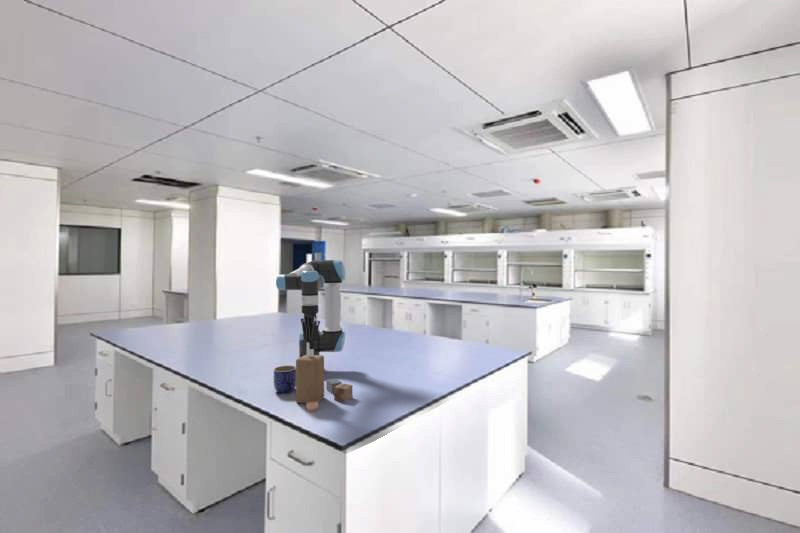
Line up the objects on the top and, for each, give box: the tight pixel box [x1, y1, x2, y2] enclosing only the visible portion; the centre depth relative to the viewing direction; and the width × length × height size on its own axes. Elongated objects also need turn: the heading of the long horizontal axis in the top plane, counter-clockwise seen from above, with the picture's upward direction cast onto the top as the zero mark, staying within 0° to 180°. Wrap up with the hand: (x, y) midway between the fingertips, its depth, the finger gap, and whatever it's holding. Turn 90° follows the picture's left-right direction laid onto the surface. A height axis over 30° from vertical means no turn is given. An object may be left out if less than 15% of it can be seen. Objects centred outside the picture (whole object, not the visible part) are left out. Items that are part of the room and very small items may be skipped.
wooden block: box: [295, 354, 325, 405], centre depth 171 cm, size 10×10×20 cm
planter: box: [273, 365, 296, 394], centre depth 183 cm, size 11×11×11 cm
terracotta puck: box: [306, 401, 320, 413], centre depth 160 cm, size 5×5×3 cm
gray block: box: [325, 378, 342, 395], centre depth 183 cm, size 7×5×5 cm
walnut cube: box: [333, 383, 353, 403], centre depth 173 cm, size 6×6×6 cm
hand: (310, 355), depth 170 cm, fingers closed
